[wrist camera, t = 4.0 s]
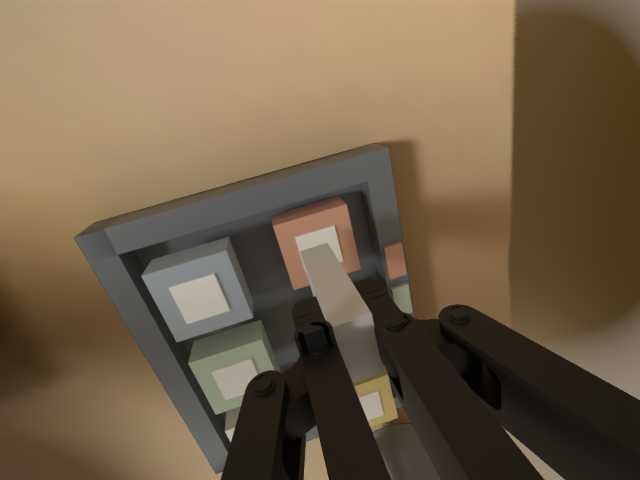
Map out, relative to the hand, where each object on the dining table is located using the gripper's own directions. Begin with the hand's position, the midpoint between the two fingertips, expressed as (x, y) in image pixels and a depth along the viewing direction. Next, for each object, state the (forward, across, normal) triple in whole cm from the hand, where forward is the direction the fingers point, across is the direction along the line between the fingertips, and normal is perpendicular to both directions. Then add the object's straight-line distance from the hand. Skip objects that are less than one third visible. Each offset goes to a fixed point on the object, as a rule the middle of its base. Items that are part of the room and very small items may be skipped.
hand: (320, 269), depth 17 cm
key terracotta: (+5, +1, 0) cm, 5 cm away
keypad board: (+6, -3, -6) cm, 9 cm away
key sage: (+3, -6, -6) cm, 9 cm away
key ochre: (+3, +1, -12) cm, 12 cm away
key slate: (+3, -6, 0) cm, 7 cm away
